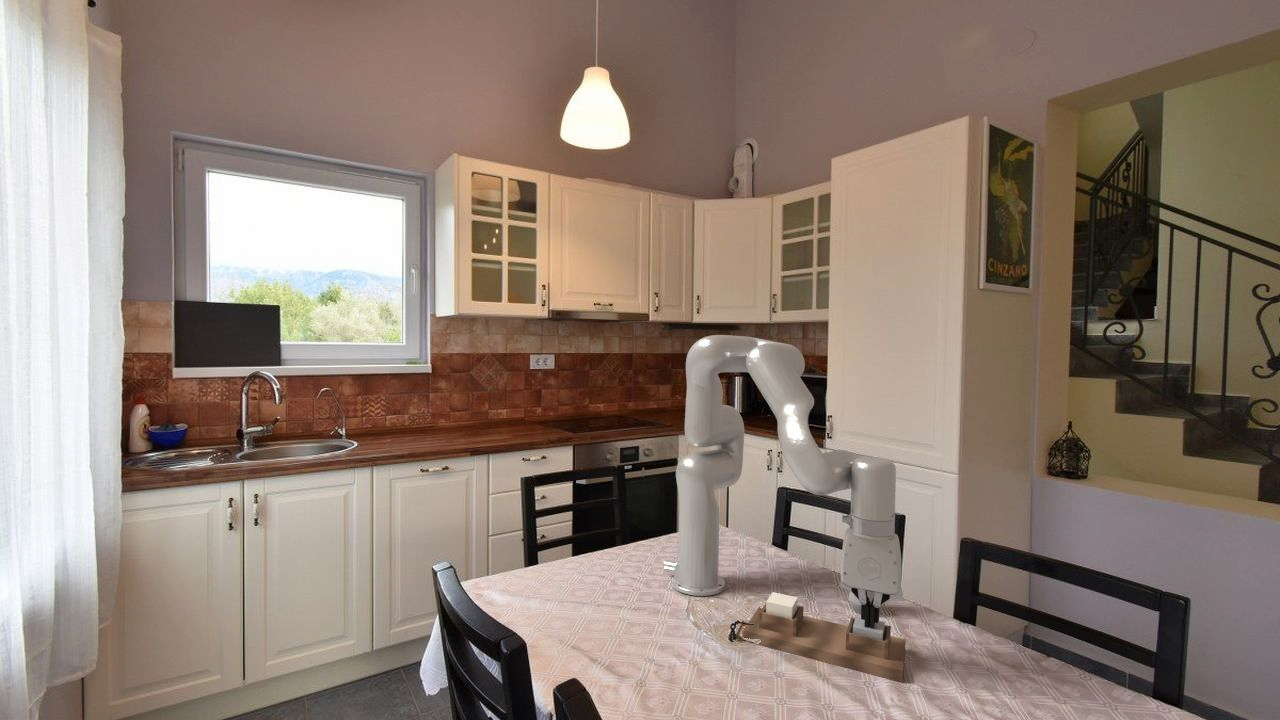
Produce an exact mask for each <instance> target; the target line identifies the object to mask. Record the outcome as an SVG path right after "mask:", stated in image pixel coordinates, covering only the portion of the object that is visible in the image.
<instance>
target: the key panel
mask: <svg viewBox="0 0 1280 720" xmlns="http://www.w3.org/2000/svg"><path fill="white" fill-rule="evenodd" d="M804 607H805V606H802V605H799V604H798V605H797V611H796V613H795V615H794V617H793V618H792V619H790V618H785V617H781V616H777V615H773V614H768V613H766V603H765V604H764V605H763V608H762V609H761V608H760V607H759V606H758V608H757V609H756V611H755V612H754V613H753V614H752V617H751V618H750V619H749V620H748V622H747V624H748V623H754V625H747V624H746V625H745V627H743V629H742V638H743V637H744V638H748V639H749V638H750V639H760V640H761V642H760V643H759V645H758V646H762V647H766V648H770V649H773V650H777V651H782V652H785V653H789V654H793V655H796V656H800V657H804V658H807V659H811V660H816V661H820V662H823V663H827V664H831V665H833V666H838V667H843V668H846V669H850V670H853V671H856V672H857V671H858V672H862V673H864V674H870V675H872V676H877V677H879V678H880V677H881V678H884V679H888V680H892V681H895V682H899V683H903V677H904V670H905V669H904V668H905V660H906V659H905V656H906V648H907V647H906V645H907V644H906V642H907V639H905V638H901V637H897V636H893V635H891V632H892V631H891V629H892V626H891V625H887V624H885V631H884V640H879V639H875V638H870V637H866V636H862V635H858V634H853V625H854V621H855V618H856V617H850V620H849V622H848V625H845V624H840V623H836V622H832V621H829V620H828V621H827V620H823V619H819V618H815V617H810V616H806V615H804V609H805V608H804Z"/></svg>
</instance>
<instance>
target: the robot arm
mask: <svg viewBox="0 0 1280 720" xmlns="http://www.w3.org/2000/svg"><path fill="white" fill-rule="evenodd" d="M685 360H686V361H685V377H686V394H685V396H686V397H685V413H684V416H685V417H684V436H685V439H686V441H687V443H688V444H689V445H691V446H693V447H696V448H708V447H710V450H704V451H697V452H692V453H689V454H687V455H685V456H683V457H682V458H681V460H679V461H678V463H677V466H676V469H675V478H676V480H675V481H676V485H677V490H678V502H679V503H678V506H679V509H678V515H679V516H678V518H679V519H678V557H677V558H678V561H676V562H675V561H672V560H668V559H664V561H663V571H664V572H666V573H670V574H671V573H672V574H673V575H672V577H671V585H672V588H673V589H675V590H676V591H677V592H680V593H682V594H685V595H689V596H695V597H697V596H698V597H707V596H714V595H717V594H719V593H722V591H724V590H725V586H726V583H725V579H724V578H722V577H721V576H720V575H719V559H720V557H719V555H720V553H719V551H720V550H719V549H720V517H721V516H720V513H721V512H720V506H719V504H718V500H717V499H716V496H715V491H718V490H722V489H727V488H729V487H732V486H734V485H735V484H736V483H737V482H738V481H739V480H740V478H741V475H742V471H743V463H744V462H743V459H744V445H745V444H744V443H745V425H744V420H743V417H742V416H741V414H740V412H739V411H738V409H736V408H735V407H734V406H731V405H727V404H723V396H724V390H723V389H724V388H723V385H722V381H721V379H720V377H719V374H720V373H748V374H749V375H750V377H751V379H752V380H753V382H754V384H755V385H756V387H757V389H758V390H759V392H760V393H761V395H762V397H763V398H764V400H765V401H766V403H767V404H768V406H769V408H770V411H772V413H773V415H774V416H775V419H776V421H777V436H778V442H779V446H780V451H781V453H782V456H783V458H784V460H785V462H786V464H787V465H788V468H789V469H790V470H791V472H792V474H793V475H794V477H795V479H796V480H797V481H798V483H799V484H800V485H801V487H802V488H803V489H805V490H806V491H807V492H809V493H811V494H813V495H816V496H826V495H827V496H828V495H830V494H833V493H836V492H839V491H847V490H850V513H849V514H847V515H844V514H842V518H841V521H842V523H845V524H847V525H848V526H849V527H848V528H847V529H846V530H845V533H844V536H843V540H842V551H841V562H840V583H839V587H840V588H841V589H844V590H846V591H848V592H850V591H851V592H852V593H853V594H854V595H855V596H856V597H857V598H858V600H859V602H860V603H861V614H860V617H861V619H862V620H865V623H864V627H869V624H870V627H871V628H872V629H874V626H875V622H876V623H879V621H880V607H881V606H882V605H883V604H884V603H886V602H887V601H889V600H902V599H903V596H904V594H903V590H902V579H903V577H902V574H903V572H902V571H903V570H902V568H903V567H902V553H901V545H900V538H899V535H898V534H897V533H895V531H896V530H895V529H896V527H895V523H896V486H897V484H896V481H897V470H896V469H897V468H896V467H897V466H896V465H895V464H894V462H893V461H892V460H889V459H887V458H884V457H875V456H864V455H860V454H858V453H855V452H852V451H848V450H842V449H835V450H831V451H826V452H825V451H824V452H823V451H822V450H821V449H820V447H819V446H818V444H817V443H816V441H815V438H814V437H813V435H812V433H811V430H810V427H809V416H810V412H811V411H812V409H813V408H814V405H815V398H814V396H813V394H812V393H811V391H810V390H809V389H808V387H807V386H806V384H805V383H804V381H803V380H802V378H801V376H802V375H803V374H804V371H805V367H806V362H805V357H804V356H803V353H802V352H801V351H800V350H799V348H797V347H796V346H794V345H793V344H789V343H785V342H784V343H783V342H778V341H774V340H773V341H772V340H768V339H764V338H758V337H752V336H745V335H729V334H728V335H727V334H715V335H712V334H711V335H708V336H704V337H702V338H700V339H699V340H697V341H695V342H694V343H693V345H692V346H691V347H690V349H689V350H688V352H687V354H686V359H685ZM867 591H871V592H875V596H874V598H873V599H872V602H871V601H870V600H869V597H868V594H867Z"/></svg>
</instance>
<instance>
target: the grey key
mask: <svg viewBox="0 0 1280 720" xmlns="http://www.w3.org/2000/svg"><path fill="white" fill-rule="evenodd" d="M854 618H855V621H854V625H853V634H858V635H862V636H866V637H870V638H875V639H879V640H884V631H885V625H886V624H885V621H882V620H879V623H876V622H875V626H874V629H872V628H871V627H870V624H869V627H864V623H865V620H862V619H861V615H860V616H859V615H856V616H855V617H854Z"/></svg>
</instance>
